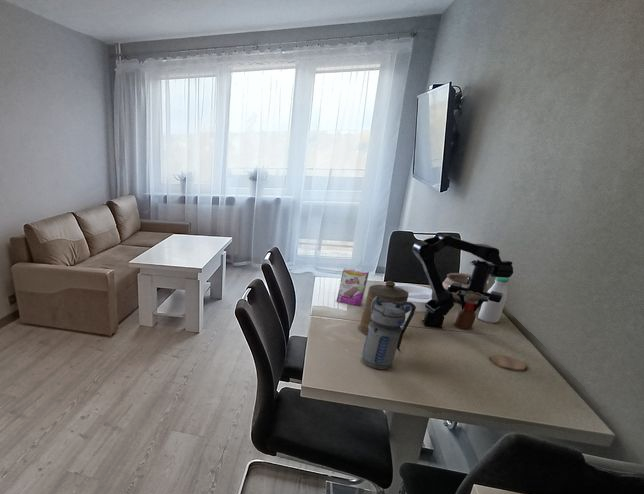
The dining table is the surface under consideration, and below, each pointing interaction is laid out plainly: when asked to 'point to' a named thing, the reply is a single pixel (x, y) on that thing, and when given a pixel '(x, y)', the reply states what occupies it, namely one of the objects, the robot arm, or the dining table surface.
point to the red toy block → (469, 305)
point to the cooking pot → (461, 279)
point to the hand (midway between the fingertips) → (468, 311)
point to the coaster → (508, 363)
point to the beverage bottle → (385, 332)
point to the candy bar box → (352, 286)
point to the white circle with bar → (416, 295)
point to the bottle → (465, 319)
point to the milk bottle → (494, 309)
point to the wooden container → (384, 294)
